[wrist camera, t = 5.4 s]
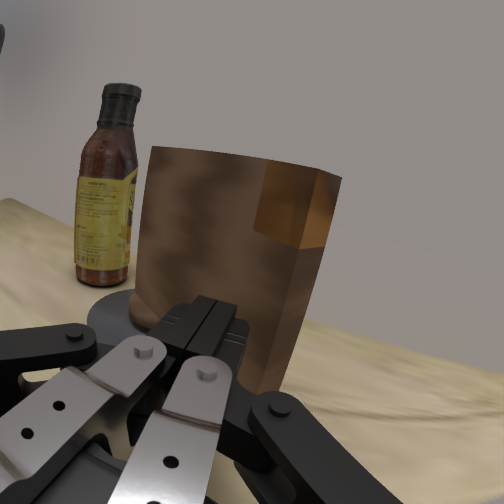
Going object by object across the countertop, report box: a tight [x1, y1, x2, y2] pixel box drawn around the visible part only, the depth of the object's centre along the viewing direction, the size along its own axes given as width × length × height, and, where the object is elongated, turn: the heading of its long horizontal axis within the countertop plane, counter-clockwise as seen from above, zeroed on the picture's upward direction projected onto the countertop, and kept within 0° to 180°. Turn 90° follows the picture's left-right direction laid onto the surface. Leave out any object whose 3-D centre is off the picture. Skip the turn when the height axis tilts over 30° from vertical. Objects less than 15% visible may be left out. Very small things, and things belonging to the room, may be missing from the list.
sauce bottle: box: [74, 83, 142, 286], centre depth 25 cm, size 6×6×20 cm
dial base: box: [87, 289, 151, 346], centre depth 21 cm, size 11×11×1 cm
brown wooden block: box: [129, 146, 342, 396], centre depth 16 cm, size 13×4×12 cm, turn 46°
